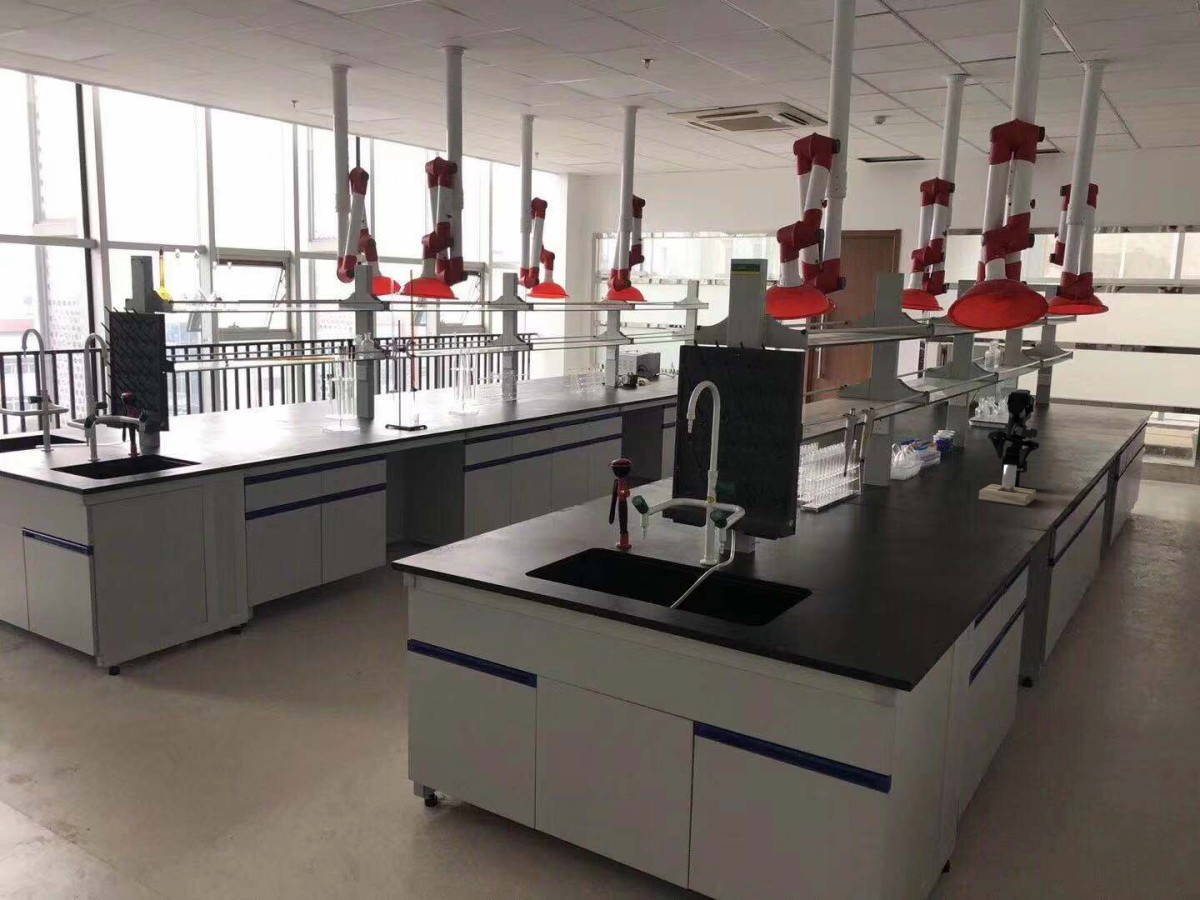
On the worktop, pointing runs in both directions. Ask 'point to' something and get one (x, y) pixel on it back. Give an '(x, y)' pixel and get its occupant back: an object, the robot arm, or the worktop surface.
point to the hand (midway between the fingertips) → (1010, 462)
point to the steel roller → (1009, 478)
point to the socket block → (1007, 495)
